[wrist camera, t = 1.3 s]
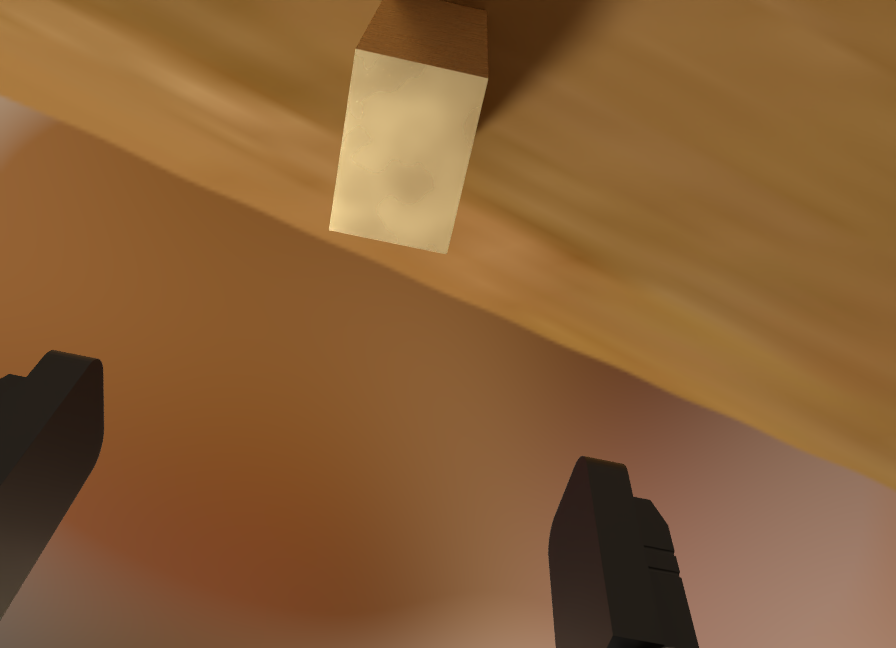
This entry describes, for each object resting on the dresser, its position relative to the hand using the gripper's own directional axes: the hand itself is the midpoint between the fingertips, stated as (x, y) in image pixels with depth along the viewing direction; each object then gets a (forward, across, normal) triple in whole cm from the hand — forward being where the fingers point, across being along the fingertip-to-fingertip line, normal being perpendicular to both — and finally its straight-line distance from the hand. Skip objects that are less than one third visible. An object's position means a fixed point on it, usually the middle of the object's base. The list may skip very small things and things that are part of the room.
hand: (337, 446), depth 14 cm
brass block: (+24, 0, 0) cm, 24 cm away
